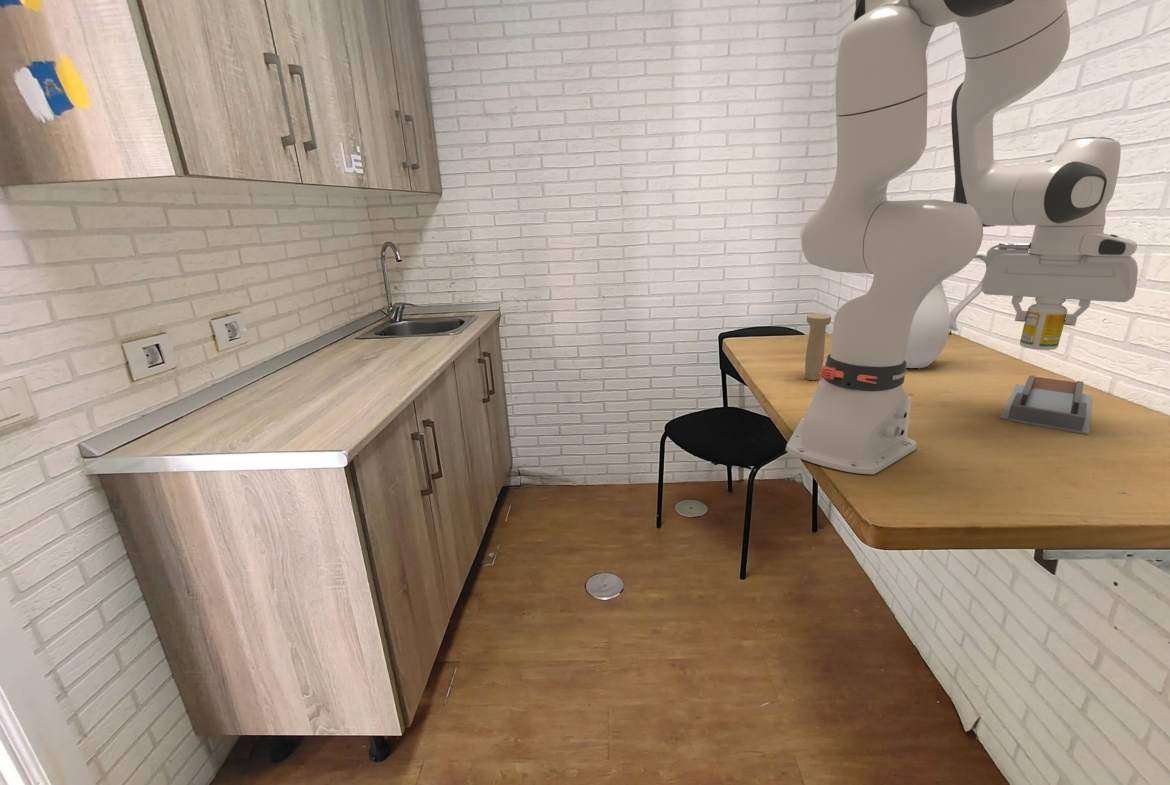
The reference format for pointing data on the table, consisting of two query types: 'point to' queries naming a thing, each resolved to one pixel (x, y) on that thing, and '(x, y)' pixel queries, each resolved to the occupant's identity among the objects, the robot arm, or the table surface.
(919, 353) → the pitcher
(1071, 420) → the gray rectangular stand
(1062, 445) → the table surface
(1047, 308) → the supplement bottle
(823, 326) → the handle
